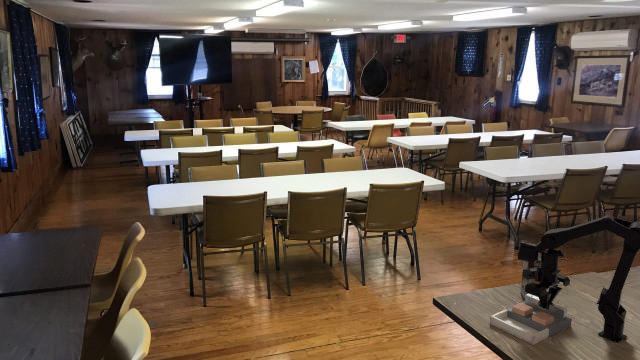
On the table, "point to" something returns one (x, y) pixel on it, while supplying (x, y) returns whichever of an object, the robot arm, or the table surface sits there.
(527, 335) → the tray
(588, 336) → the table surface
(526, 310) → the tile
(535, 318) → the tile
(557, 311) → the sleeved grey plank
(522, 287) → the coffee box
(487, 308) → the table surface
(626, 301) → the table surface
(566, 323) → the board
